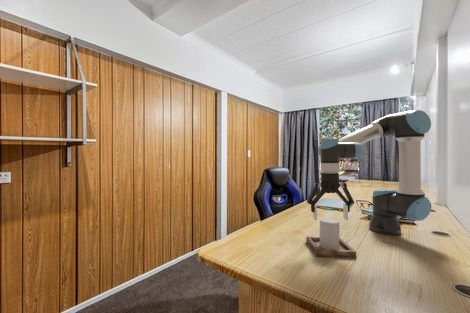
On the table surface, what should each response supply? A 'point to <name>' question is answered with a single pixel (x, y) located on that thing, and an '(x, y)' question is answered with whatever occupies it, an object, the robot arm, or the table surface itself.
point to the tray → (343, 250)
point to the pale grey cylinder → (329, 234)
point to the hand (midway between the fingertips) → (330, 219)
